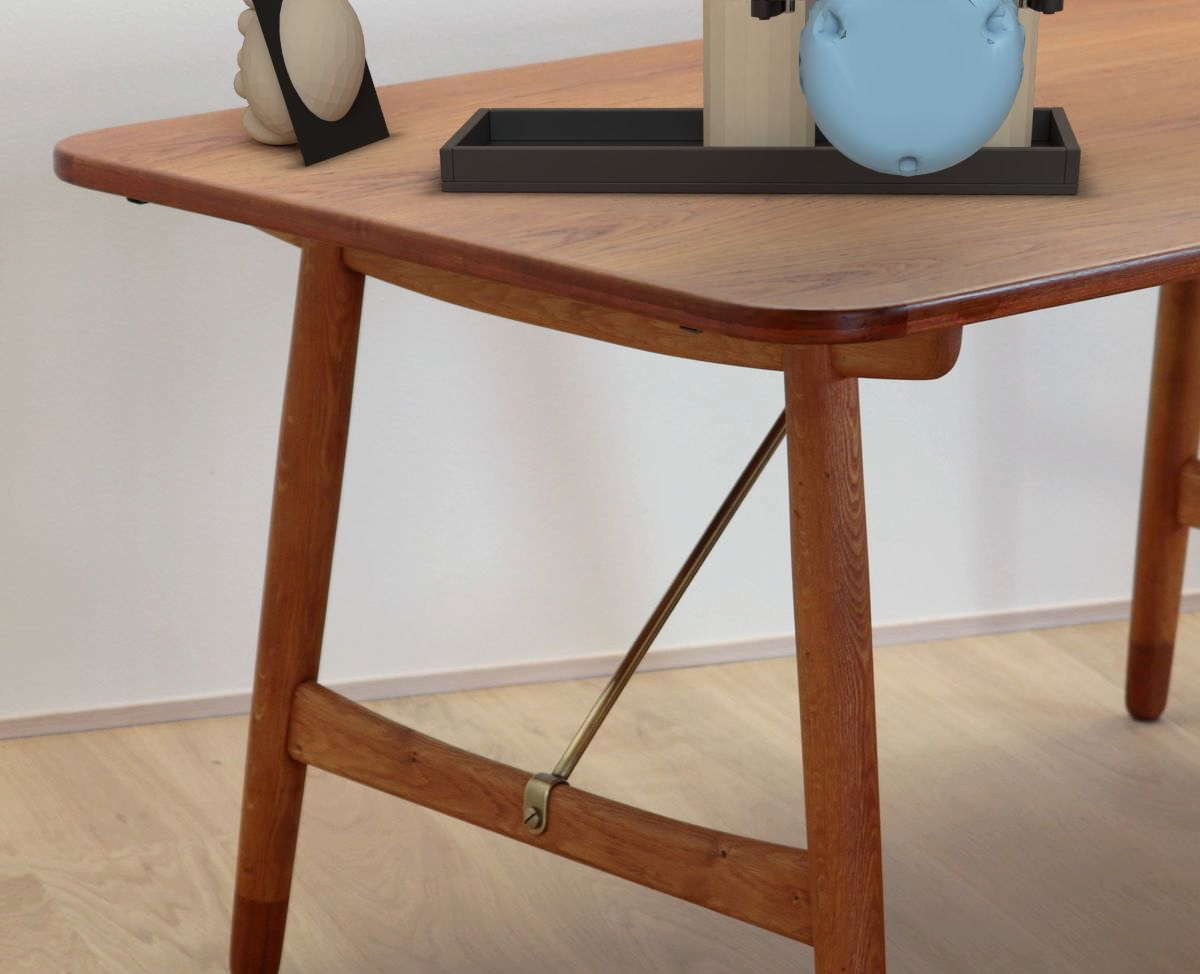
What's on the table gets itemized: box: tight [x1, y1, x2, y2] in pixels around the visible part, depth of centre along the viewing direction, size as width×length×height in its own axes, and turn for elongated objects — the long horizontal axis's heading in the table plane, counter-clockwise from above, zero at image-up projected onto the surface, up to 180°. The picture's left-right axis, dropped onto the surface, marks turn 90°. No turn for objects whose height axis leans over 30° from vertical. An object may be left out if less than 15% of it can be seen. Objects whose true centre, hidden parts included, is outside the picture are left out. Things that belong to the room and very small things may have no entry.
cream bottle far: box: [982, 8, 1041, 147], centre depth 114 cm, size 7×7×16 cm
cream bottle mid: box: [702, 0, 815, 147], centre depth 116 cm, size 7×7×16 cm
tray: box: [438, 106, 1082, 195], centre depth 119 cm, size 38×13×3 cm, turn 82°
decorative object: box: [233, 0, 391, 167], centre depth 127 cm, size 13×10×10 cm
